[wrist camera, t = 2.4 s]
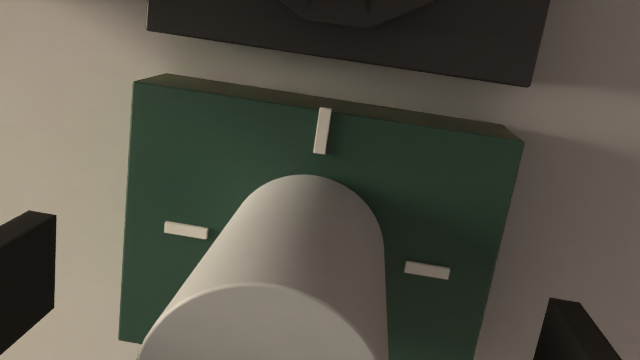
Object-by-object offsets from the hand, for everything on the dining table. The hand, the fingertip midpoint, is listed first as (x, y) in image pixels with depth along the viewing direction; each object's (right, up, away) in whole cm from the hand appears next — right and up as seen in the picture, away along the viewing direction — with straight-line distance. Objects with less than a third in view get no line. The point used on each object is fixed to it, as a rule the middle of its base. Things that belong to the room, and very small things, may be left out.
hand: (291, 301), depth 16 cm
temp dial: (0, +1, +3) cm, 4 cm away
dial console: (+1, +2, +6) cm, 7 cm away
